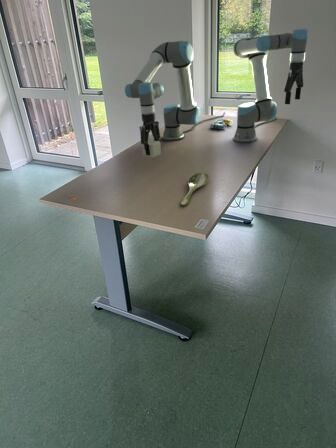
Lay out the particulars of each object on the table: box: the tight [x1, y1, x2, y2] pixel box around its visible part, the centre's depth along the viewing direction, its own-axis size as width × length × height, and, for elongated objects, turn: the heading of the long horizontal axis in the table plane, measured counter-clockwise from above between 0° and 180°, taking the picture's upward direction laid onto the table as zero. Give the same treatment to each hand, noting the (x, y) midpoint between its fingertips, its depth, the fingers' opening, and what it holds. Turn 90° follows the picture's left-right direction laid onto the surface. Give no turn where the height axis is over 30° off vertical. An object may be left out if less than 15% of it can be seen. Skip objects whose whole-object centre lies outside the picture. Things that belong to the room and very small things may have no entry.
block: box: [141, 139, 162, 158], centre depth 195 cm, size 7×8×7 cm
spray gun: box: [210, 117, 234, 130], centre depth 264 cm, size 21×4×15 cm
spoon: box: [180, 171, 210, 207], centre depth 170 cm, size 35×11×2 cm, turn 159°
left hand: (152, 153), depth 197 cm, fingers closed on block, 7 cm apart
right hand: (292, 101), depth 195 cm, fingers open, 13 cm apart
